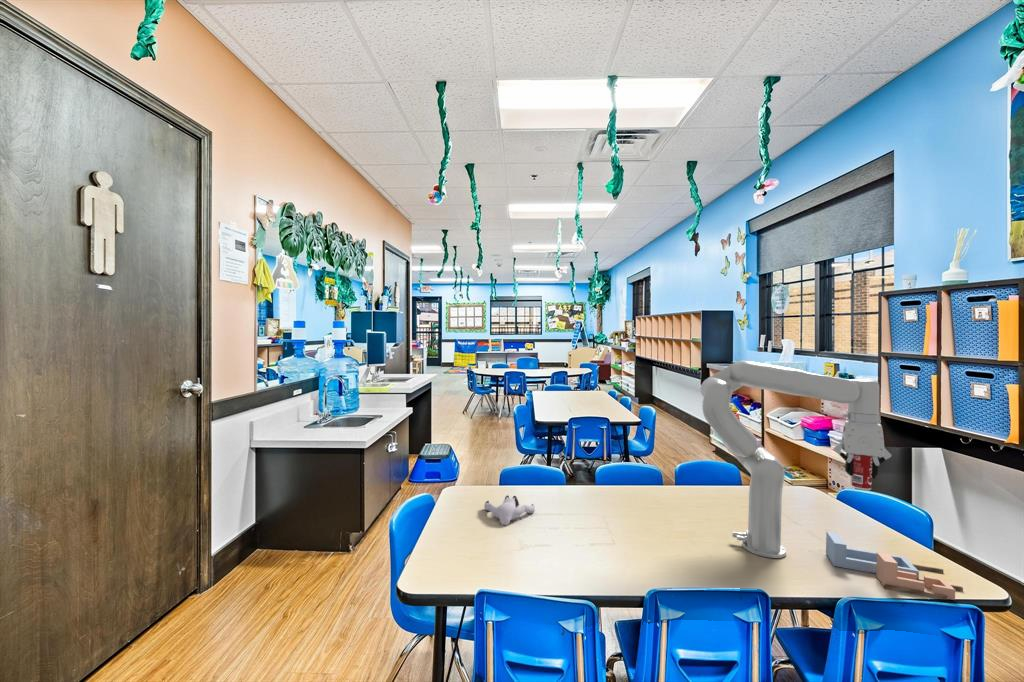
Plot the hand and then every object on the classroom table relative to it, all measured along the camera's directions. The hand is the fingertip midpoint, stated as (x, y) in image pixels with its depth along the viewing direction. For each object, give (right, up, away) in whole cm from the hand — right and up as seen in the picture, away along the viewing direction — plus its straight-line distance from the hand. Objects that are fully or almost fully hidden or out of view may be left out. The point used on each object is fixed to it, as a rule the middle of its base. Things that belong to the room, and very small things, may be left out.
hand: (861, 475), depth 142 cm
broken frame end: (+8, -28, -17) cm, 33 cm away
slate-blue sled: (0, -27, -3) cm, 27 cm away
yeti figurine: (-112, -25, +30) cm, 119 cm away
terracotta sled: (0, -27, -14) cm, 30 cm away
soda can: (0, -4, 0) cm, 4 cm away
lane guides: (+7, -27, -11) cm, 30 cm away
